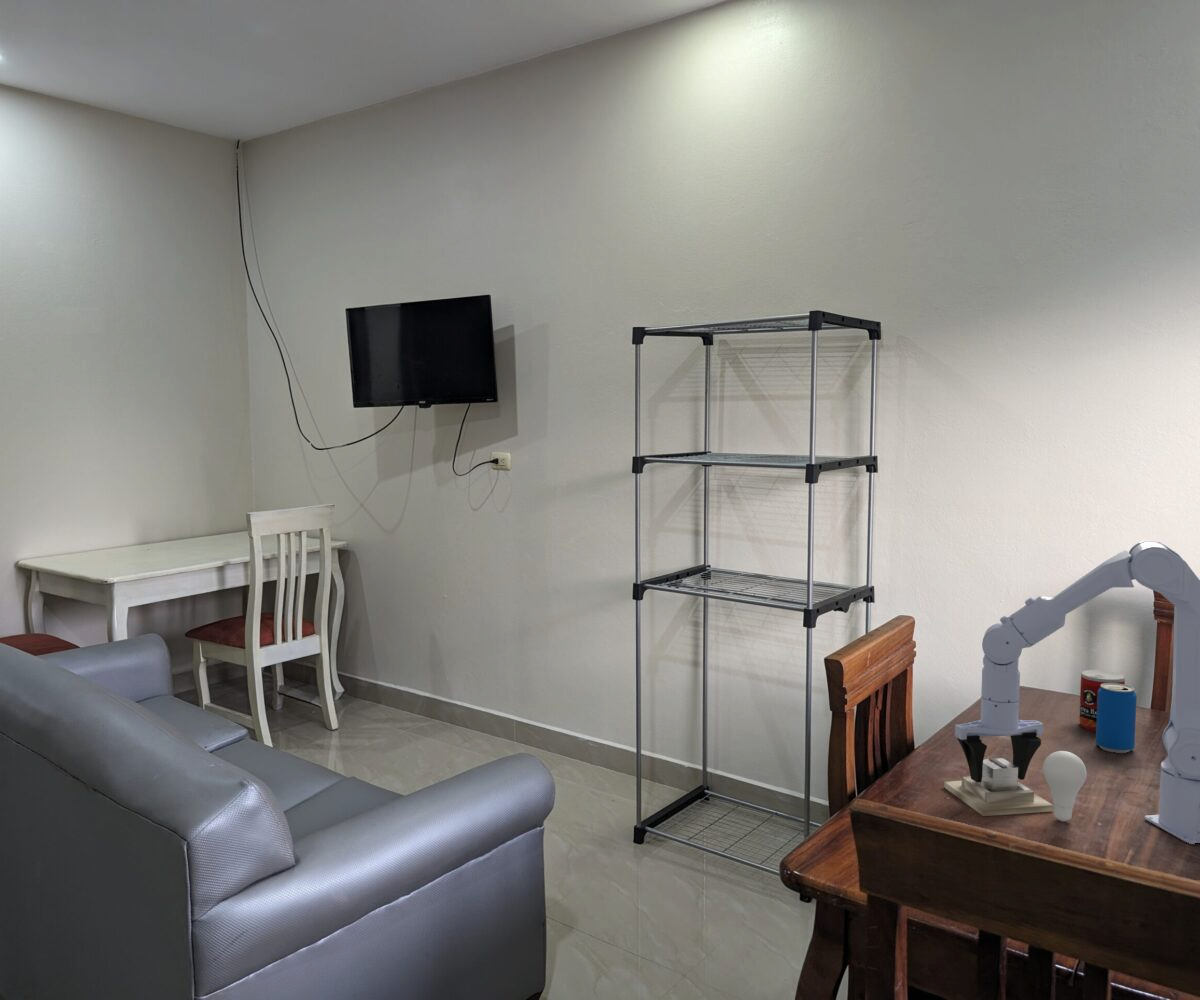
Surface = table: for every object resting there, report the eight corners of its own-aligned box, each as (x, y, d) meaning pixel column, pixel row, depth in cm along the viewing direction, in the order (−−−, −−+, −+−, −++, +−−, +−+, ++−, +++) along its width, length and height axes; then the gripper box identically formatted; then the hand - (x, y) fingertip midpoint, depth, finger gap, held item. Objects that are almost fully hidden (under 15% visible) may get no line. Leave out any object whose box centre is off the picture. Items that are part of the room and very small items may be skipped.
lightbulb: (1071, 812, 150) (1074, 745, 149) (1092, 828, 144) (1095, 758, 143) (1033, 813, 150) (1036, 745, 149) (1053, 829, 144) (1055, 759, 143)
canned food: (1070, 724, 194) (1072, 672, 194) (1097, 719, 198) (1099, 667, 197) (1104, 735, 187) (1106, 681, 187) (1131, 730, 191) (1133, 676, 190)
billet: (1017, 797, 154) (1018, 766, 153) (992, 799, 153) (993, 767, 153) (1001, 787, 158) (1002, 756, 158) (977, 788, 157) (978, 758, 157)
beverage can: (1139, 755, 176) (1142, 692, 175) (1101, 753, 177) (1104, 690, 176) (1127, 744, 182) (1130, 683, 181) (1091, 742, 184) (1093, 681, 183)
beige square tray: (1052, 811, 151) (1053, 796, 150) (983, 816, 149) (983, 800, 149) (1009, 783, 162) (1009, 769, 162) (944, 787, 161) (944, 773, 160)
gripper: (1026, 689, 159) (1023, 767, 160) (946, 693, 157) (943, 772, 158) (1052, 701, 152) (1049, 783, 153) (969, 705, 150) (966, 788, 151)
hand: (997, 778), depth 155 cm, fingers open, 7 cm apart
